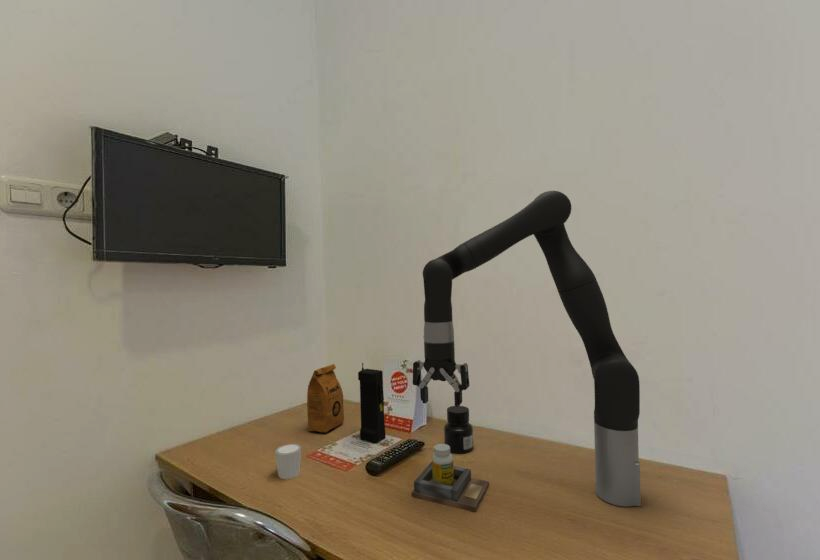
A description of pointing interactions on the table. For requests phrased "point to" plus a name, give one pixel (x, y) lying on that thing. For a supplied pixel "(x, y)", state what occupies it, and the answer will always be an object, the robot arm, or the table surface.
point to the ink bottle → (458, 430)
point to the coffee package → (324, 400)
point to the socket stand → (451, 489)
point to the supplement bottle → (442, 465)
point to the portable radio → (371, 405)
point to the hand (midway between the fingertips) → (441, 404)
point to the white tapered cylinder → (288, 460)
